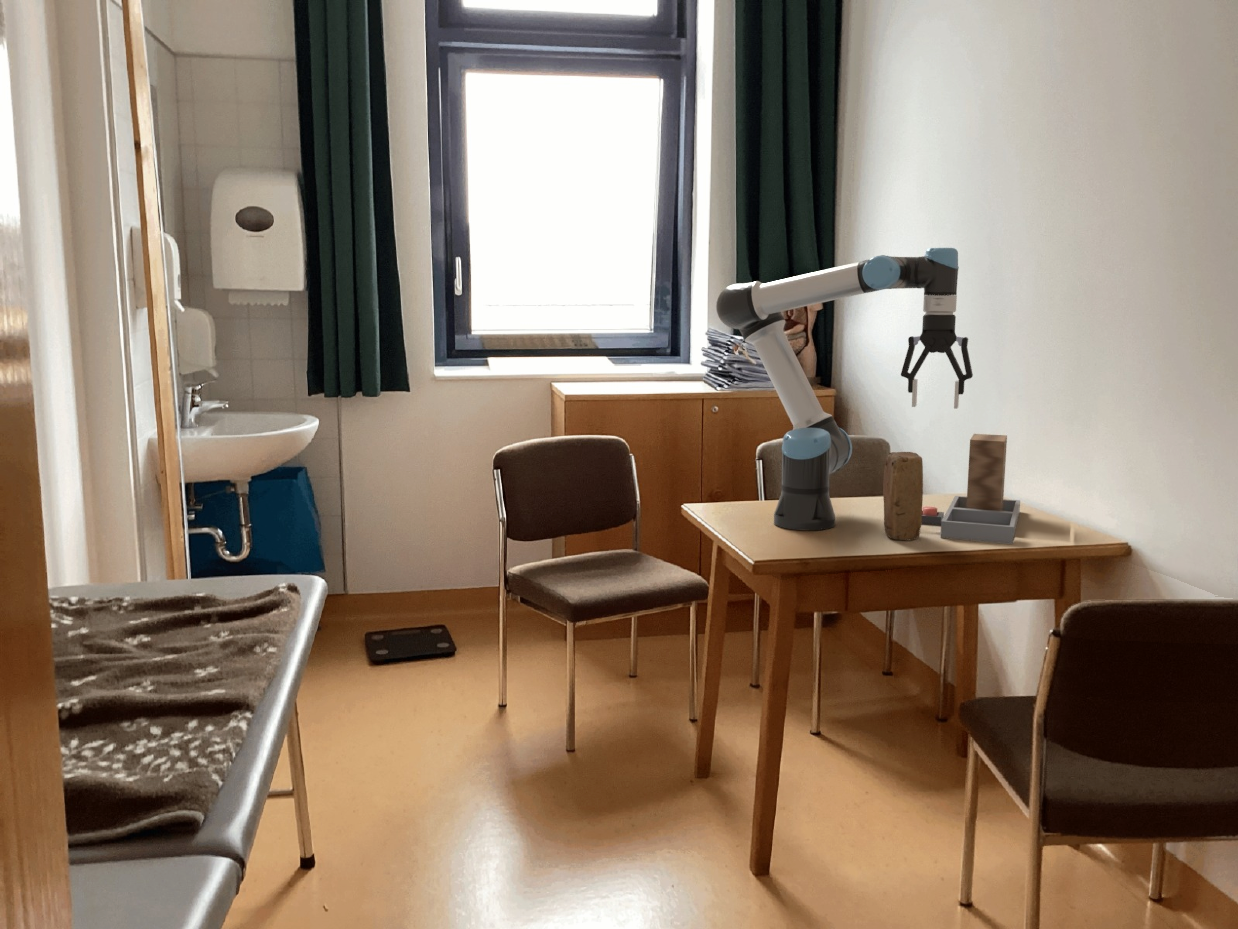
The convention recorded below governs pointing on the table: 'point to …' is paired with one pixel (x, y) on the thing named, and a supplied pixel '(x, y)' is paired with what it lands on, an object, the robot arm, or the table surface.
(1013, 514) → the gray divided tray
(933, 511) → the button
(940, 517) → the button housing
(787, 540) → the table surface
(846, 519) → the table surface
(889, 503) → the block
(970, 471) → the seated billet
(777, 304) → the robot arm
